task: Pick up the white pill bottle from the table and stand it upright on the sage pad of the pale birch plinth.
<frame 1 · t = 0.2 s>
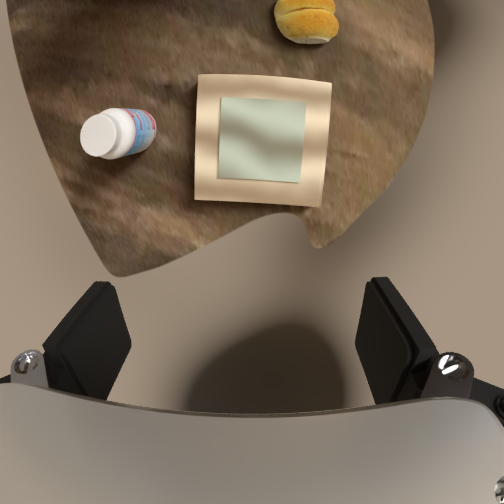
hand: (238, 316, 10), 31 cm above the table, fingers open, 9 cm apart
pill bottle: (137, 130, 36), on the table
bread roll: (306, 19, 29), on the table
birch plinth: (261, 138, 36), on the table
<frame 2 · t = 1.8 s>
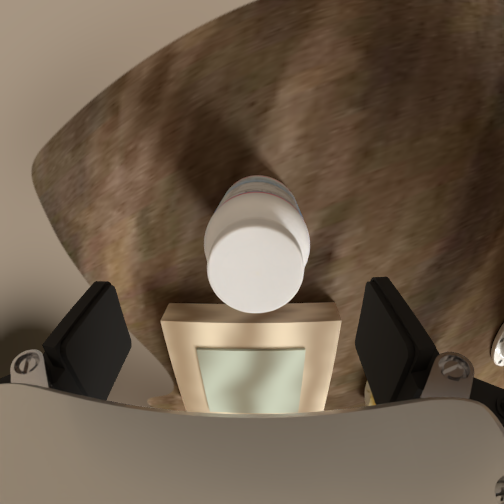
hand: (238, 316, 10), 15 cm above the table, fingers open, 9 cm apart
pill bottle: (259, 209, 24), on the table
birch plinth: (253, 364, 31), on the table
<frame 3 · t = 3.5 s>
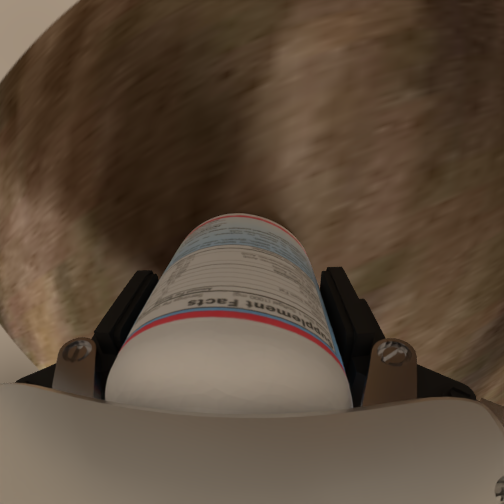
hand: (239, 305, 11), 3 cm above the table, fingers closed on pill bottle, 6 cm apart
pill bottle: (242, 270, 14), on the table, touching gripper
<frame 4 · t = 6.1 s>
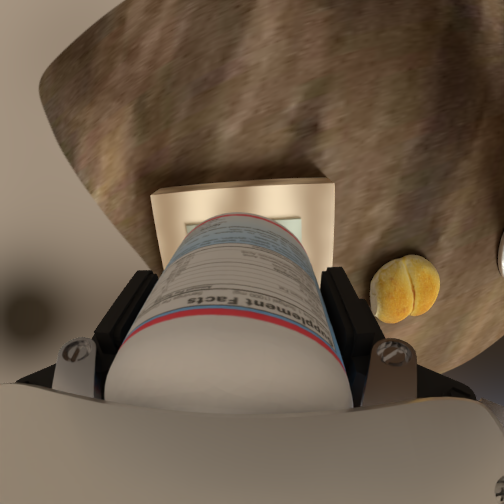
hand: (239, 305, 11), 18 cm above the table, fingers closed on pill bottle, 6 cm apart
pill bottle: (242, 270, 14), point 15 cm above the table, touching gripper
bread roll: (399, 284, 32), on the table
birch plinth: (248, 258, 30), on the table
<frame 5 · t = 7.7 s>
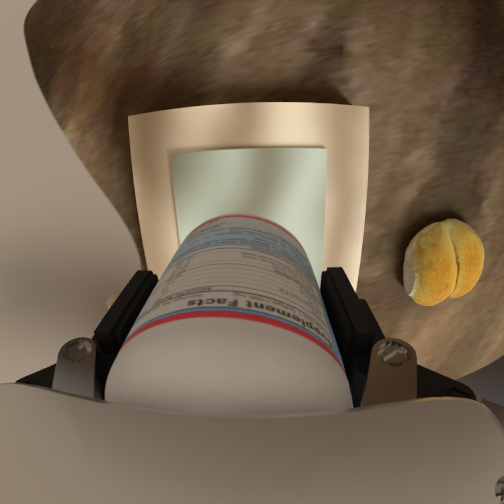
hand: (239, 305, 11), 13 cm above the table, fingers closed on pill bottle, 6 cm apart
pill bottle: (242, 270, 14), point 10 cm above the table, touching gripper
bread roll: (436, 257, 24), on the table
birch plinth: (251, 210, 23), on the table
when the fingers open (7 cm above the table, at t = 9.1 s): pill bottle drops 1 cm, resting on birch plinth.
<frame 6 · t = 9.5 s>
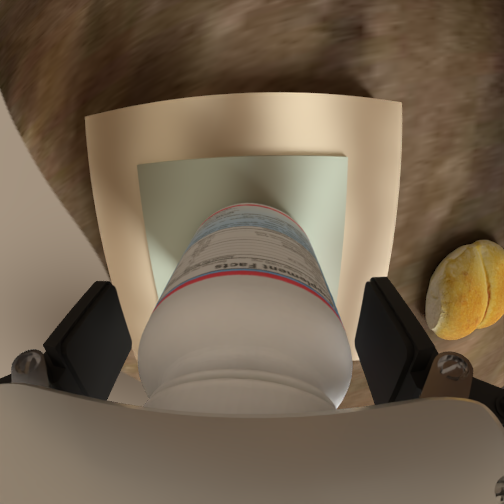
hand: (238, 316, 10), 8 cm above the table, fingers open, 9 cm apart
pill bottle: (251, 255, 15), point 3 cm above the table, touching birch plinth
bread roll: (462, 283, 20), on the table
birch plinth: (246, 234, 18), on the table
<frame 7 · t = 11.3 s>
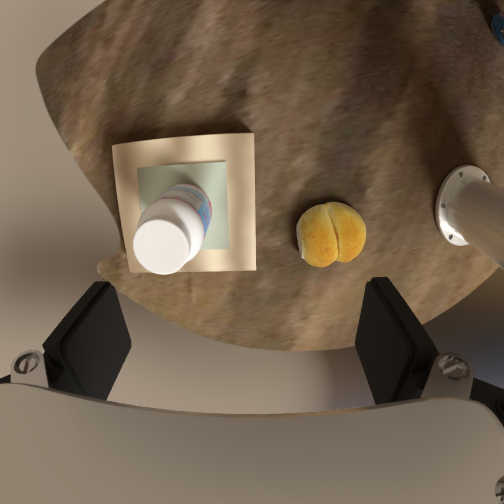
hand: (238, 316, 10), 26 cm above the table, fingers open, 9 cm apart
pill bottle: (186, 208, 32), point 3 cm above the table, touching birch plinth
soda can: (500, 32, 23), on the table
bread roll: (327, 232, 38), on the table
birch plinth: (188, 201, 35), on the table
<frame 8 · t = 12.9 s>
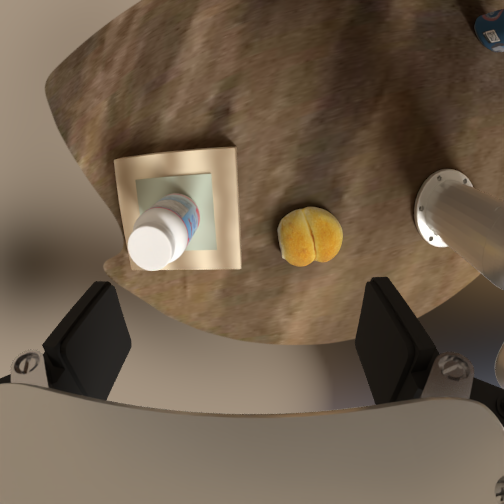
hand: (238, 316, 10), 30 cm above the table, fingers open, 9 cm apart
pill bottle: (178, 214, 37), point 3 cm above the table, touching birch plinth
soda can: (484, 34, 26), on the table
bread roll: (307, 234, 42), on the table
birch plinth: (181, 207, 40), on the table
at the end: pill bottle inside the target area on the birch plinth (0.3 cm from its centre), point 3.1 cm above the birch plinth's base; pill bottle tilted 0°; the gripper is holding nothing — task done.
